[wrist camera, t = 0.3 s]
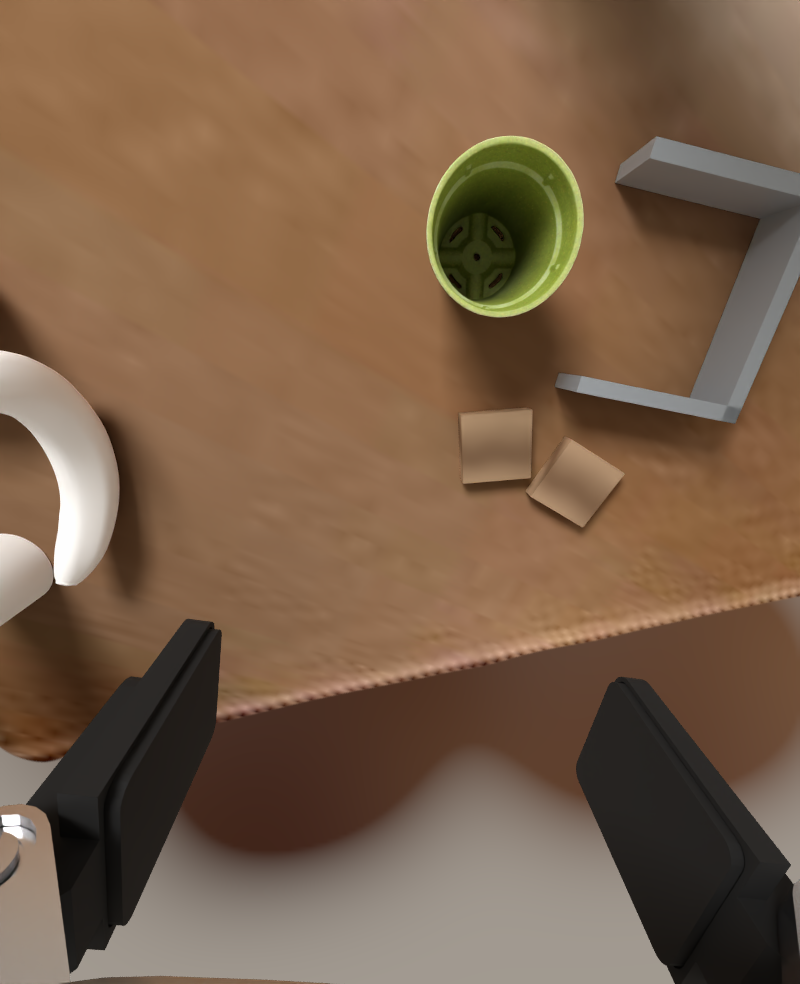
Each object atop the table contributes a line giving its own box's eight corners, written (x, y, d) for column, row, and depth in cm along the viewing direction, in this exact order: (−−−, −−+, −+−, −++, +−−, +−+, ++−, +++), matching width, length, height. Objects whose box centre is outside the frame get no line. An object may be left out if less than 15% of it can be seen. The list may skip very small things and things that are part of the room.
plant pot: (560, 254, 34) (616, 225, 26) (475, 348, 36) (502, 349, 28) (477, 158, 32) (508, 92, 23) (391, 264, 34) (393, 237, 25)
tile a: (457, 412, 38) (461, 415, 36) (525, 406, 38) (532, 409, 36) (459, 477, 40) (463, 483, 38) (523, 471, 40) (530, 478, 38)
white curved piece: (94, 559, 41) (-55, 668, 27) (41, 349, 35) (-186, 350, 21) (146, 558, 41) (24, 666, 27) (102, 349, 35) (-83, 350, 21)
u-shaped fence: (620, 164, 32) (656, 136, 28) (781, 204, 33) (839, 183, 29) (554, 386, 37) (576, 391, 33) (696, 415, 38) (734, 423, 34)
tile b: (562, 435, 39) (571, 439, 37) (613, 467, 40) (624, 473, 38) (523, 489, 40) (530, 496, 39) (573, 519, 42) (582, 527, 40)
